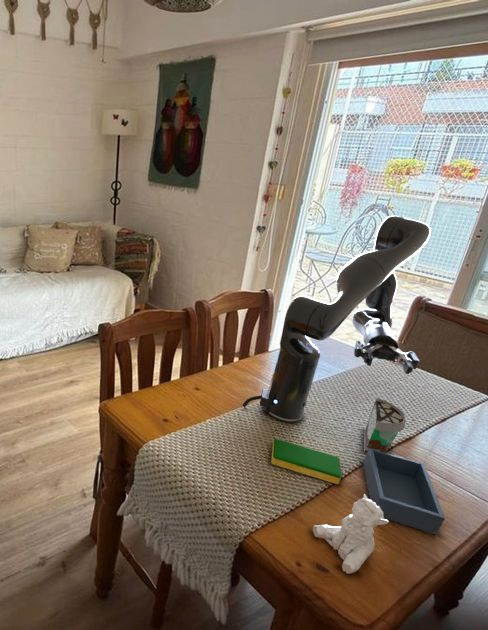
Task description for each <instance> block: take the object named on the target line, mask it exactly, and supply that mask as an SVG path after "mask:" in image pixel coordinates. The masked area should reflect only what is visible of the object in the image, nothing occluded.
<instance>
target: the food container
mask: <svg viewBox="0 0 488 630" xmlns="http://www.w3.org/2000/svg"><path fill="white" fill-rule="evenodd" d="M405 427H406V416H405V414H404V412H403V410H401V409H400V408H399V407H397V406H396V405H394V404H393V403H391V402H389V401H387V400H384V399H381V398H379V397H376V398H375V400H374V403H373V407H372V410H371V412H370V415H369V417H368V420H367V423H366V426H365V429H364V435H363V436H364V437H363V441H364V442H363V445H364V446H363V452H364V454H365V453H366V454H367V452H368V449H369V448H371V449H374V450H378V451H382V452H385V453H388V452H389V450H390V447H391V445H392V444H393V442H394V440H395V439H396V437H397V435H398V433H400V432H401V431H403V430H405Z"/></svg>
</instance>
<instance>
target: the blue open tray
mask: <svg viewBox="0 0 488 630" xmlns="http://www.w3.org/2000/svg"><path fill="white" fill-rule="evenodd" d="M362 465H363V470H364V474H365V480H366V485H367V490H368V491H367V492H368V497H369V499H370V500H372V501H373V502H375V503H376V505H377V506H379V507H380V508H381V510H382V512H383V513H384V514H383V516H384V518H383V519H386V520H388V521H389V520H390V521H392V522H395V523H399V524H402V525H404V526H408V527H411V528H414V529H416V530H420V531H423V532H426V533H429V534H433V535H436V536H437V534H438V532H439V530H440V529H441V527H442V525H443V523H444V521H445V519H446V517H445V515H444V512H443V509H442V506H441V504H440V501H439V499H438V496H437V493H436V490H435V488H434V485H433V482H432V479H431V477H430V475H429V472H428V469H427V467H426V464H425V463H424V462H421V461H418V460H413V459H410V458H407V457H403V456H399V455H397V454H392V453H389V452H387V453H385V452H382V451H378V450H374V449H371V448H369V449H368V452H367V453H366V454H365V457H364V460H363V462H362Z"/></svg>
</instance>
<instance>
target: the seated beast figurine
mask: <svg viewBox="0 0 488 630" xmlns="http://www.w3.org/2000/svg"><path fill="white" fill-rule="evenodd" d="M383 514H384V513H383V512H382V510H381V508H380V507H379V506H377V505H376V503H375V502H373V501H372V500H370V498H368V496H367V494H365V493H364V494H363V497H362V498H360V499H357V500H356V501H355V502H353V505H352V508H351V513H349V514H348V516H345V517H344V518H341V520H340V523H341V524H340V525H338V526H334V525H328V524H314V525H313V526H312V533H313V536H314V537H316V538H318V539H323V540H324V541H326V542H327V543H328V544H329V545H330V547H333V549H332V550H334V551H336V550H337V555H338V556H339V558H341V559H342V560H343V561H342V564H341V568H342V571H343V572H345V574H348V575H349V574H354V573H356V572H357V571H358V570H360V568H361V567H362V565H363V564H364V563H365V561H366V560H367V559H368V557H370V556H371V554H372V553H373V552H374V551H375V545H376V543H375V541H374V540H375V537H374V534H375V531H374V528H376V527H377V526H385V525H387V524H388V523H390V521H389V519H386V518H384V516H383Z"/></svg>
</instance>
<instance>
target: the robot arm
mask: <svg viewBox="0 0 488 630" xmlns="http://www.w3.org/2000/svg"><path fill="white" fill-rule="evenodd" d="M431 231H432V230H431V227H430V225H428V224H427V223H425V222H422V221H419V220H415V219H411V218H407V217H403V216H398V215H390V216H387V217H386V218H385V219H384V220H383V221H382V222H381V224H380V225H379V226H378V229H377V232H376V235H375V239H374V246H373V250H370V251H367V252H363V253H360V254H359V255H356V256H355V257H353V258H352V259H350V261H348V262H347V263H346V264H345V265H344V266H343V267H342V268H341V269H340V270H339V271H338V273H337V275H336V292H337V298H336V300H335V301H334V302H331V303H327V302H324V301H322V300H318V299H315V298H312V297H310V296H306V295H298V296H296V297H294V298H293V300H291V302H290V303H289V305H288V308H287V310H286V312H285V317H284V320H283V321H284V322H283V326H282V327H283V328H282V332H281V336H280V342H279V352H278V356H277V360H276V363H275V367H274V371H273V373H272V376H271V380H270V383H269V388H268V389H267V388H262V390H261V394H260V395H256V396H251V397H249V398H247V399H246V400H245V401H244V402H243V404H242V405H241V406H242V407H243V408H246V407H247V406H248V404H249V403H250V402H252V401H256V400H259V401H260V402H259V406H261V407H263V408H264V414H267V415H269V416H271V417H273V418H274V419H276V420H280V421H282V422H287V423H296V422H299V421H301V420H302V418H303V413H304V412H305V411H304V410H305V408H307V403H308V398H309V394H310V390H311V387H312V384H313V381H314V377H315V374H316V371H317V368H318V365H319V361H320V358H321V351H320V349H319V348H318V347H317V346H315V344H314V343H312V341H311V340H310V339H309V338H311V339H312V340H315V341H320V342H321V341H325V340H327V339H328V338H330V337H331V336H332V335H333V334H334V333H335V332H336V331H337V330H338V329H339V328H340V326H341V325H342V324H343V323H344V322H345V320H346V319H347V318H348V317H349V316H350V315H351V313H352V312H353V311H354V310H355V309H356V308H357V307H358V306H359V305H360V304H361V303H362V302H363V301H364V304H365V306H366V307H367V308H359V309H357V310H356V311H355V312H354V313H353V315H352V320H351V321H352V325H353V328H354V329H355V330H356V331H357V332H358V333H359V334H361V335H362V336H363V343H362V342H361V341H360V340H356V342H355V344H354V347H353V354H354V357H355V358H361V359H362V360H363V362H364V364H366V366H369V367H371V366H372V363H373V360H375V359H377V360H385V361H388V362H390V363H392V364H394V365H395V366H401V367H402V369H403V371H404V374H406V375H409V374H412V372H413V370H417V368H418V365H419V363H420V359H419V358H418V356H417V355H416V353H415V352H414V351H412V350H409V351H408V352H403V351H402V350H401V349H400V347H399V344H398V341H397V339H396V337H395V335H394V332H393V331H392V330H391V328H392V326H393V315H392V307H393V306H392V305H393V302H394V299H395V296H396V293H397V289H398V280H397V276H396V274H395V273H396V272H395V270H397V269H398V268H399V267H400V266H402V265H403V264H404V263H406V261H409V260H410V259H411V258H412V257H414V256H415V255H416V254H417V253H418V252H420V251H421V250H422V248H424V246H425V245H426V244H427V243H428V241H429V239H430V236H431Z"/></svg>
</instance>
